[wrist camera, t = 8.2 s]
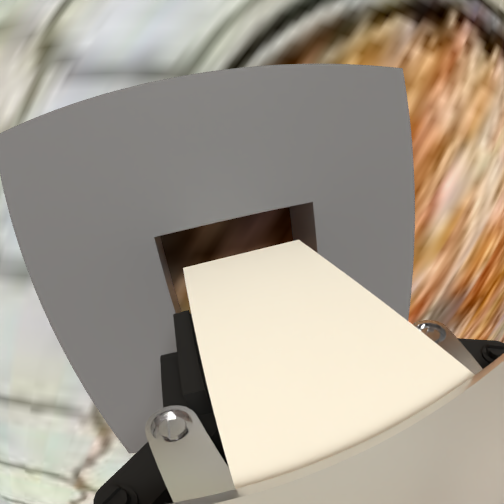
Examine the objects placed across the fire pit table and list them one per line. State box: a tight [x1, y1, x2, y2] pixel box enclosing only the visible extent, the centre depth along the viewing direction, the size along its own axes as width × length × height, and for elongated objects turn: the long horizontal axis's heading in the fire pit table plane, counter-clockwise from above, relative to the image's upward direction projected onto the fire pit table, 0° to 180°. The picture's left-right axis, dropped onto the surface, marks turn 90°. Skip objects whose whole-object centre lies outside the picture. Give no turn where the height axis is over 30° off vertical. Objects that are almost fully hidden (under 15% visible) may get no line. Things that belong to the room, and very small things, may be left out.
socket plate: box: [0, 64, 415, 453], centre depth 15 cm, size 18×18×3 cm
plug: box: [183, 240, 475, 489], centre depth 8 cm, size 4×4×10 cm
